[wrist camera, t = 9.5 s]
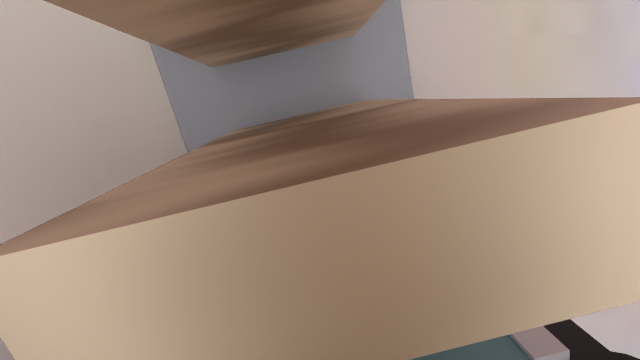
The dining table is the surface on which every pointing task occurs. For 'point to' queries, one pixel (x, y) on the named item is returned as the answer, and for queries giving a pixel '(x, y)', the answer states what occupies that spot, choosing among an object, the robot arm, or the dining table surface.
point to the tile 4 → (343, 237)
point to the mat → (288, 80)
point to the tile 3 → (229, 24)
